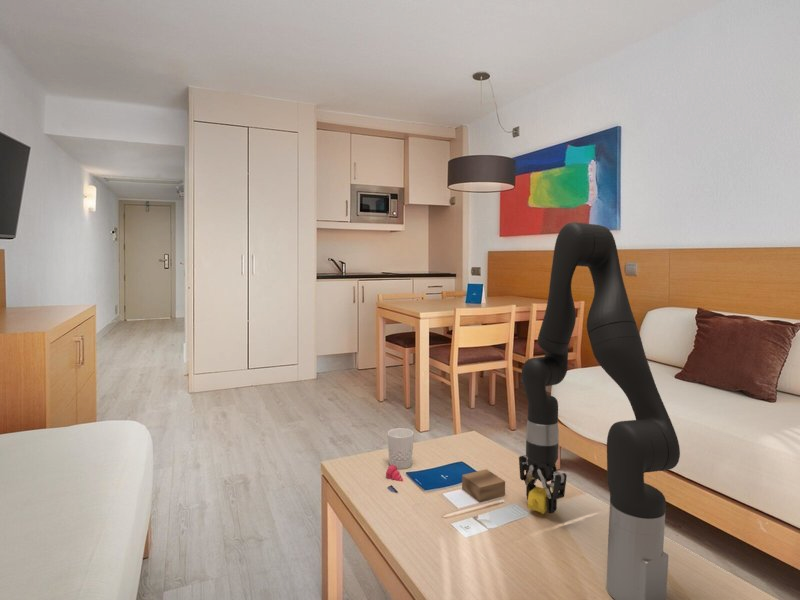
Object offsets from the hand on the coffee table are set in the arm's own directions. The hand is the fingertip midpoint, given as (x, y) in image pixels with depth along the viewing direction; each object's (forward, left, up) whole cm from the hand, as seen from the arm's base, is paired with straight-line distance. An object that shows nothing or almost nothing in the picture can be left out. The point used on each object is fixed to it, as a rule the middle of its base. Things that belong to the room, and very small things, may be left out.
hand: (540, 505), depth 118 cm
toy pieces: (+29, +23, -3) cm, 37 cm away
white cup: (+41, +18, -3) cm, 45 cm away
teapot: (0, 0, -1) cm, 1 cm away
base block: (+14, +7, -2) cm, 16 cm away
